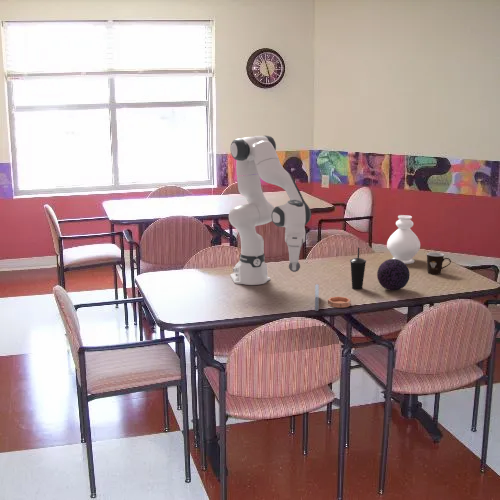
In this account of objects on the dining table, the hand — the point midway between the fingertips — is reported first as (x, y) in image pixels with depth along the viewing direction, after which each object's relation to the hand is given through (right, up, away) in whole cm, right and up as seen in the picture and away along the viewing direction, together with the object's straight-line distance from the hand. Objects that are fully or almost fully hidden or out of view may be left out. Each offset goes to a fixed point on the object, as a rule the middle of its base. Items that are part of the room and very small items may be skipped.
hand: (294, 268), depth 311 cm
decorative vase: (+65, +2, +77) cm, 100 cm away
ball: (0, +1, 0) cm, 1 cm away
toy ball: (+48, -11, +23) cm, 54 cm away
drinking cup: (+32, -11, +26) cm, 42 cm away
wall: (+10, -16, +3) cm, 19 cm away
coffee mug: (+76, -4, +51) cm, 92 cm away
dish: (+20, -16, +2) cm, 26 cm away
